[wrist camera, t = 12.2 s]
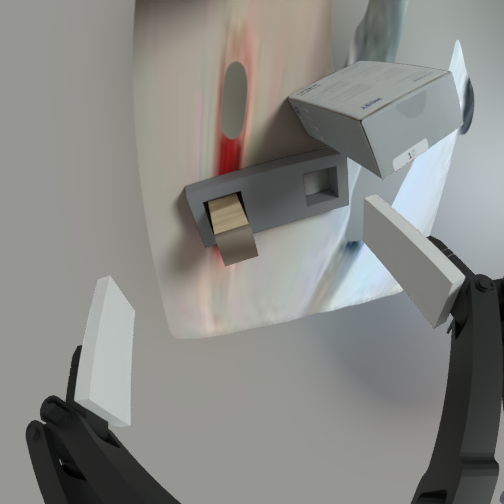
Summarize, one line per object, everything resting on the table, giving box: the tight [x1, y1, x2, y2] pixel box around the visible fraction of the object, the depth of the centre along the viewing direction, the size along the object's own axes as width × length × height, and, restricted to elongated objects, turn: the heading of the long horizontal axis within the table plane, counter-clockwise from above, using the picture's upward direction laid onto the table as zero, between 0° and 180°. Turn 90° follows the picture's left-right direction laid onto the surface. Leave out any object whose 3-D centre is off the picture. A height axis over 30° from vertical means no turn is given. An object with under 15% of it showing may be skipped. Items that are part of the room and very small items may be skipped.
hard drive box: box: [288, 61, 463, 180], centre depth 31 cm, size 16×8×20 cm, turn 122°
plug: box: [208, 192, 258, 266], centre depth 41 cm, size 5×5×13 cm
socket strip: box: [185, 147, 349, 248], centre depth 45 cm, size 10×26×4 cm, turn 102°
